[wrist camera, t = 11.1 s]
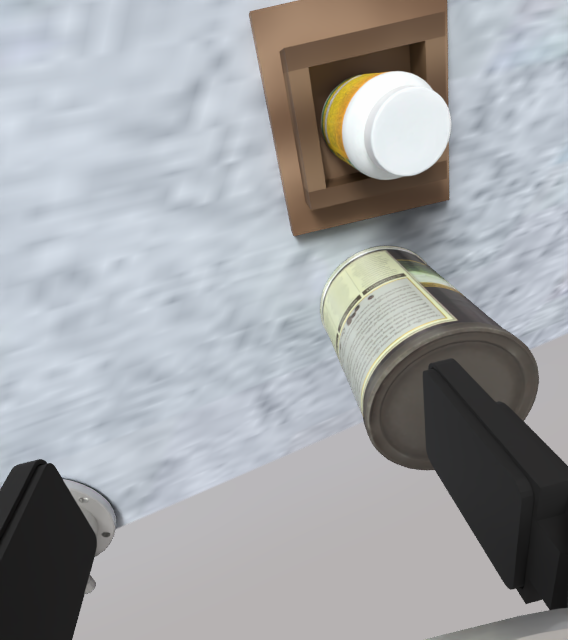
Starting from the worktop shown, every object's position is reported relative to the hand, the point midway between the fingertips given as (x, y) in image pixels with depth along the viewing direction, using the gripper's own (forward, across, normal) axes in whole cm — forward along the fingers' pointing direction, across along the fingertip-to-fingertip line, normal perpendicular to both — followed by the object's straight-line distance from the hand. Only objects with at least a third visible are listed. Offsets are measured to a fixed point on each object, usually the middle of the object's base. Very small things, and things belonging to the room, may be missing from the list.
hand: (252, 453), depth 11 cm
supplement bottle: (+23, -10, -5) cm, 25 cm away
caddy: (+24, -11, -6) cm, 27 cm away
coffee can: (+24, -11, +9) cm, 28 cm away
